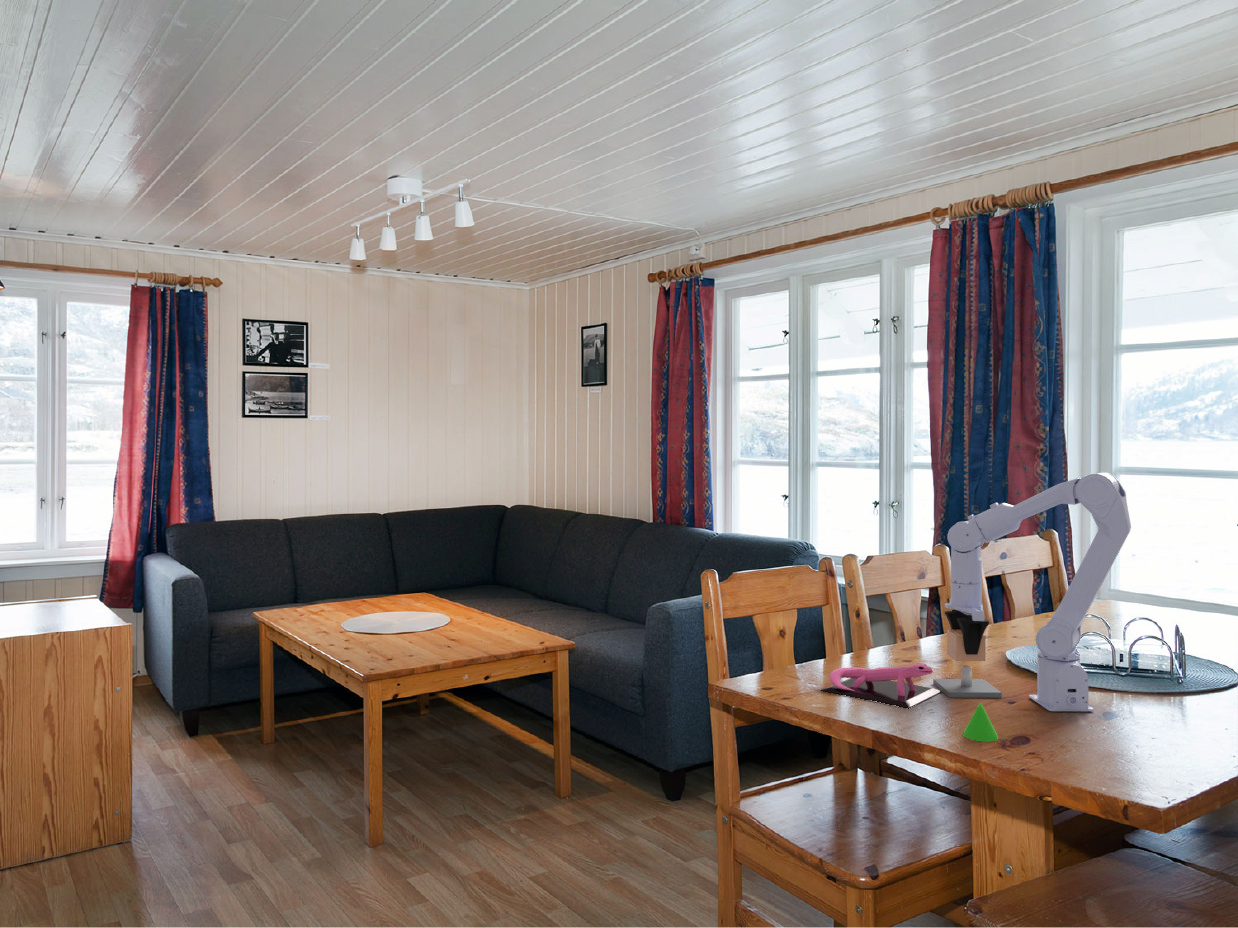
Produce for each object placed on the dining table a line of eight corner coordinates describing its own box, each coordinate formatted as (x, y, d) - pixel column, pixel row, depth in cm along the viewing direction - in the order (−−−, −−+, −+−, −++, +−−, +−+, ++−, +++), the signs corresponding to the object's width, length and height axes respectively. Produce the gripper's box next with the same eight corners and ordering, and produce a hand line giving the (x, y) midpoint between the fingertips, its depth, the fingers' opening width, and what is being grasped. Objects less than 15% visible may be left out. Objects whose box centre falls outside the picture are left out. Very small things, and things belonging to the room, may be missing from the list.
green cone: (955, 737, 151) (955, 701, 151) (970, 729, 155) (970, 694, 155) (990, 745, 146) (990, 708, 146) (1005, 736, 151) (1005, 701, 151)
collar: (985, 660, 175) (985, 635, 175) (956, 660, 176) (956, 635, 175) (975, 654, 181) (975, 629, 181) (947, 654, 181) (947, 629, 181)
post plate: (1001, 697, 173) (1001, 671, 173) (948, 697, 174) (948, 671, 174) (983, 683, 183) (983, 659, 183) (933, 683, 184) (933, 659, 184)
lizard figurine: (916, 713, 165) (916, 674, 165) (820, 694, 179) (819, 657, 179) (949, 696, 176) (948, 659, 176) (855, 679, 190) (855, 645, 190)
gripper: (934, 576, 185) (934, 642, 186) (957, 587, 171) (957, 659, 171) (969, 576, 185) (969, 642, 185) (995, 587, 171) (995, 659, 171)
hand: (966, 650), depth 178 cm, fingers closed on collar, 6 cm apart
